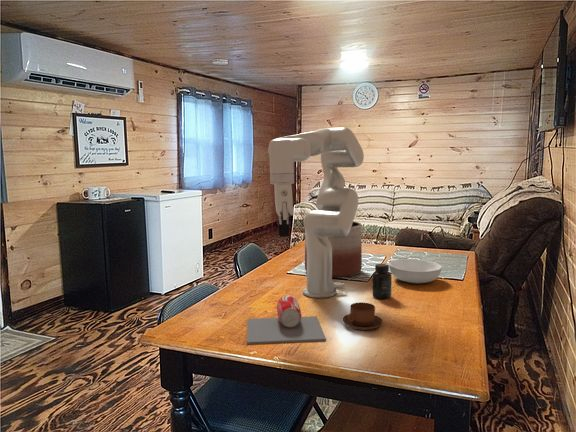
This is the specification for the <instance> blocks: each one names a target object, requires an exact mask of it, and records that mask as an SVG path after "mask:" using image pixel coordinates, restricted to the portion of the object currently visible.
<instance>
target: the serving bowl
mask: <svg viewBox="0 0 576 432" xmlns="http://www.w3.org/2000/svg"><path fill="white" fill-rule="evenodd" d="M388 265H389V272H390V273H391V275H392V276H394V278H396V279H397V280H399V281H403V282H406V283H409V284H415V285H417V284H419V285H420V284H425V283H430V282H433V281H435V280H436V279H438V277H440V275H441V272H442V268H443V267H442V265H441V264H439V263H437V262H434V261H431V260H426V259H415V258H401V259H395V260H392V261H389V263H388Z"/></svg>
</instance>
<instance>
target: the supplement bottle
mask: <svg viewBox="0 0 576 432" xmlns="http://www.w3.org/2000/svg"><path fill="white" fill-rule="evenodd" d="M374 270H375V271H374V272H373V273H372V297H373V298H375V299H377V300H389V299H391V298H392V276H393V275H392V273H391V271H390V266H389V264H387V263H377V264H375V267H374Z"/></svg>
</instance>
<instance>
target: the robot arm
mask: <svg viewBox="0 0 576 432" xmlns="http://www.w3.org/2000/svg"><path fill="white" fill-rule="evenodd" d="M267 152H268V155H269V179H270V181H269V183H270V185H274V187H273V189H274V204H275V206H274V207H275V212H276V214H277V216H278V236H279V237H280V238H281V237H282V238H283V237H285V238H286V237H289V236H290V223H289V215H290V216H293V215H294V202H293V187H292V184H295V167H294V165H295V162H300V163H301V162H305V161H306V160H308V159H309V158H310V157H313V156H314V157H317V156H318V155H320V160H321V161H320V163H321V168H322V172H323V181H322V184H321V186H320V189H319V191H318V194H317V197H316V199H315V200H316V201H315V205H316V208H317V209H314V210H309V211H307V212H306V214H305V216H304V217H303V226H304V227H303V228H304V234H305V233H306V241H307V271H306V287H304V288H303V289H302V293H303V295H304V296H306V297H310V298H317V299H319V298H320V299H322V298H323V299H327V298H331V297H334V296H335V295H336V294H337V289H341V290H342V289H345V288H346V287H345V285H346V284H345V283H344V282H343V283H341V282H340V281H339V282H334V281H333V278H332V245H331V243H330V241H329V239H328V238H327V237H346V236H347V235H348V234H349V232H350V229H351V226H352V223H353V221H354V219H355V217H356V215H357V214H356V213H357V211H358V206H359V196H358V193H357V191H356V190H355V189H353V188H349V187H345V185H346V180H345V177H344V176H343V174H342V173H341V172H340V170H339V169H338V168H357V167H358V168H359V167H360V166H362V164H363V162H364V158H365V157H364V156H365V155H364V151H363V148H362V146H361V144H360V143H359V141H358V139H357V137H356V135H355V133H354V132H353V131H352V130H351V129H350V128H348V127H341V126H340V127H325V128H320V129H317V130H313V131H308V132H301V133H299V134H292V135H287V136H281V137H277V138H274V139H272V140H270V141H269V144H268V147H267Z"/></svg>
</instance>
